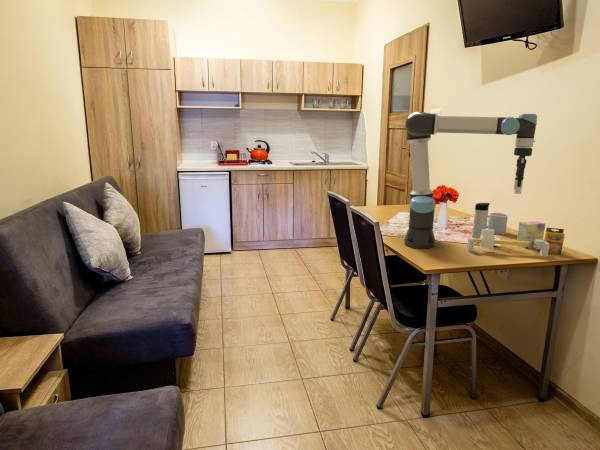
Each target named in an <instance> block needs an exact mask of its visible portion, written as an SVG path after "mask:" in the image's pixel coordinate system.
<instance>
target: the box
mask: <svg viewBox="0 0 600 450" xmlns="http://www.w3.org/2000/svg"><path fill="white" fill-rule="evenodd" d="M545 227H546V223H544V222H542V221H519V223H518V231H517V238H516V241H526V242H528V241H529V239H533V240H534V242H535V239H537V240H543V241H544V238H545V231H546V230H545V229H546V228H545ZM518 246H519V247H522V248H525V249H526V248H528V246H522V245H518Z"/></svg>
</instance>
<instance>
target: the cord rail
mask: <svg viewBox="0 0 600 450" xmlns="http://www.w3.org/2000/svg"><path fill="white" fill-rule="evenodd" d="M476 243H477V244H480V243H482V239H475V238H473V237H472V236H468V238H467V249H466V251H468V253H469V252H472V253H473V252H474V246H475V244H476ZM494 245H509V246H510V245H511V246H519V245H522V246H528V247H527V248H529V250H534V249H535V250H540V252H539V254H540V255H541V256H542V257H545V258H546V257H548V255H549V253H548V251H549V243H548V242H545V241H544V239H543V240H537V239H535V242H534V240H533V239H529V241H528V242H526V241H517V240H508V239H507V240H505V239H494Z"/></svg>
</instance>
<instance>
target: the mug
mask: <svg viewBox="0 0 600 450" xmlns="http://www.w3.org/2000/svg"><path fill="white" fill-rule="evenodd" d="M508 217H509V215H508V214H505V213H501V212H490V213H488V217H487V219H488V221H487V223H488V224H487V226H486V229H488V230H494V235H505V234H506V232H507V231H506V230H507V226H508V225H507V224H508Z"/></svg>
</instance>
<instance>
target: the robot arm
mask: <svg viewBox="0 0 600 450" xmlns="http://www.w3.org/2000/svg"><path fill="white" fill-rule="evenodd" d="M537 122H538V115H537V113H520V114H519V116H518V117H514V116H507V117H505V116H504V117H503V116H501V117H500V116H499V117H498V116H458V115H457V116H456V115H438V114H437V113H429V112H423V111H418V110H417V111H414V112H412V113H410V114H409V115H408V116H407V118H406V120H405V125H404V127H405V129H406V141H407V142H408V143H409V144H410V145H409V146H410V163H411V165H410V166H411V181H412V182H411V184H412V190H411V191H410V192H409V215H408V216H409V217H408V229H407V231H406V234H405V235H404V239H403V244H404V245H405V246H406V247H410V248H414V249H431V248H434V247H436V237H435V234H434V221H435V208H436V201H435V199H434V191H433V190H432V189H431V185H430V181H431V180H430V164H429V163H430V162H429V160H430V159H429V157H430V156H429V141H430V140H431V139H432V135H433V136H434V135H436V134H437V133H440V134H441V133H443V134H473V135H474V134H475V135H476V134H477V135H506V136H511V135H512V136H513V135H516V136H515V137H516V138H515V143H514V151H513V155H514V156H518V157H517V158H516V172H515V175H514V176H515V177H514V184H513V191H514V194H516V195H522V189H523V183H524V178H525V177H524V174H525V169H526V165H527V161H528V160H527V159H526V157H531V156H532V155H533V146H534V143H536V140H535V135H536V129H537Z"/></svg>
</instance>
